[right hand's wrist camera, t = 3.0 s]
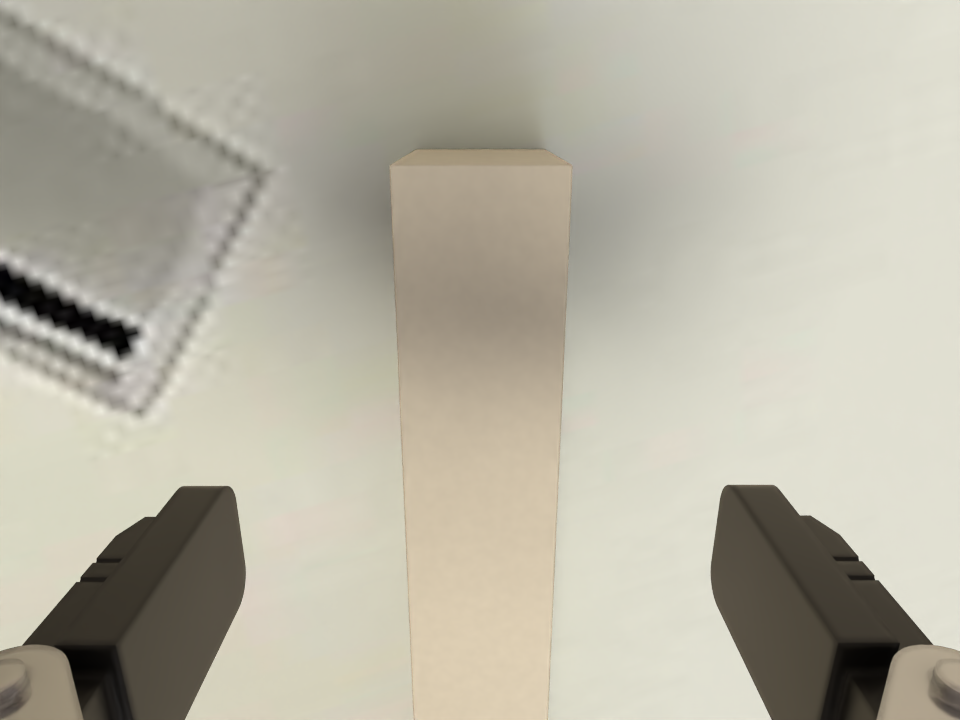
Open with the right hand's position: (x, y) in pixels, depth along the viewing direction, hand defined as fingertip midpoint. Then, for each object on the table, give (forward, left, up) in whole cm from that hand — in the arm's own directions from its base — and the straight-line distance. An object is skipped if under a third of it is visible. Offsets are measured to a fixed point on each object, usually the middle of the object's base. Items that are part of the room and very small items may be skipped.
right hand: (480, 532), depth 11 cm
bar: (+21, -10, -16) cm, 28 cm away
